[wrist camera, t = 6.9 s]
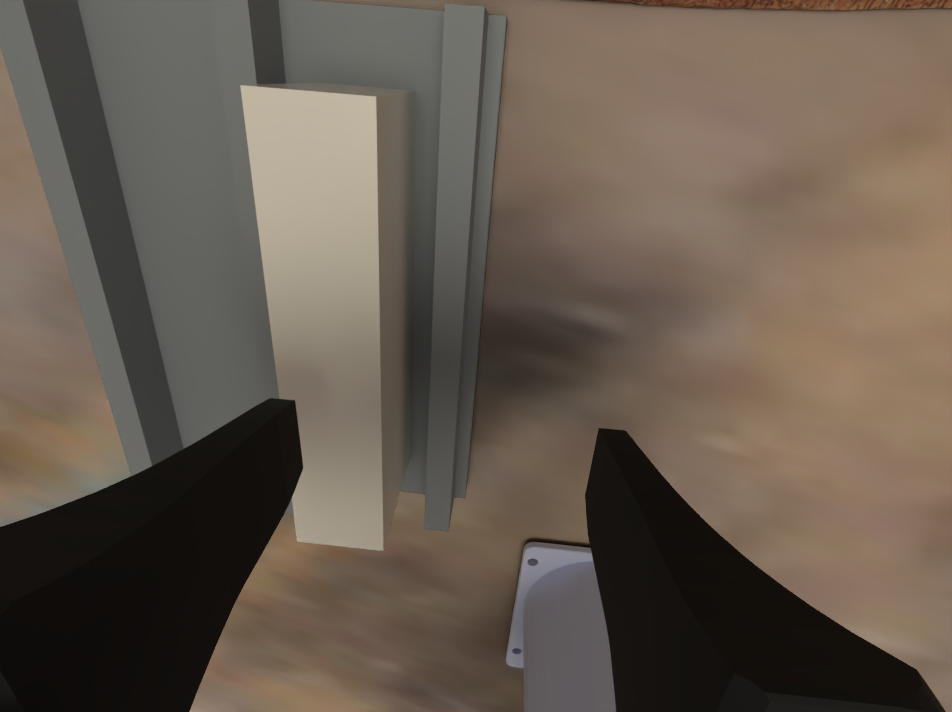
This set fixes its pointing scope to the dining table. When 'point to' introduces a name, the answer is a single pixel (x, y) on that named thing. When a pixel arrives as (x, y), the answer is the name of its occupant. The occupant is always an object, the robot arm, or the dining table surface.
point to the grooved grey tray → (247, 197)
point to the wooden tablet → (799, 4)
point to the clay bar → (339, 291)
